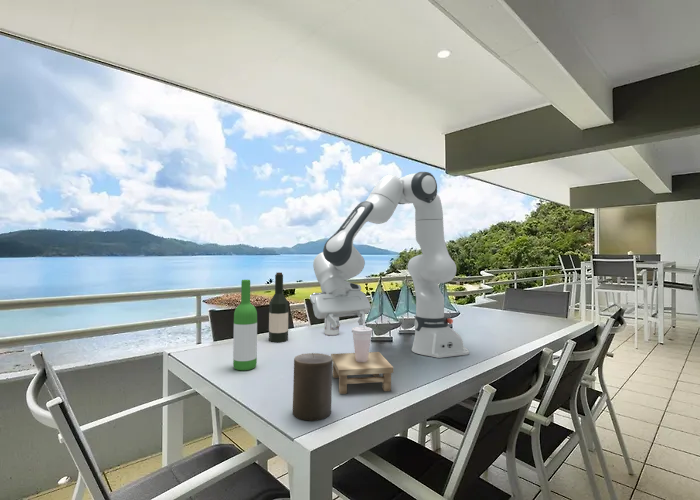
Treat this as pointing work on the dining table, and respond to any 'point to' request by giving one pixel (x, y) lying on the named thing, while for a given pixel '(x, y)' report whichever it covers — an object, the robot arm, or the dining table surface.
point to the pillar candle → (312, 386)
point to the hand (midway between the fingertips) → (350, 325)
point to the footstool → (361, 370)
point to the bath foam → (331, 327)
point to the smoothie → (362, 341)
